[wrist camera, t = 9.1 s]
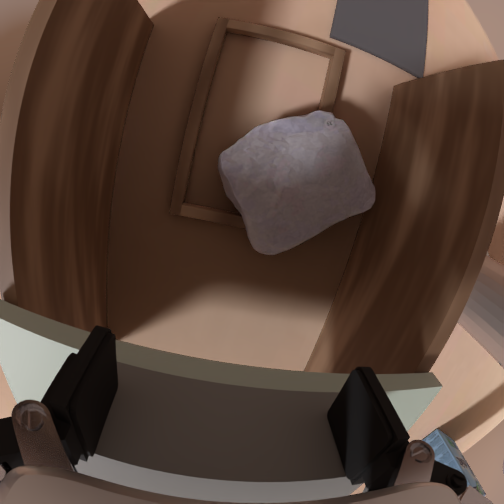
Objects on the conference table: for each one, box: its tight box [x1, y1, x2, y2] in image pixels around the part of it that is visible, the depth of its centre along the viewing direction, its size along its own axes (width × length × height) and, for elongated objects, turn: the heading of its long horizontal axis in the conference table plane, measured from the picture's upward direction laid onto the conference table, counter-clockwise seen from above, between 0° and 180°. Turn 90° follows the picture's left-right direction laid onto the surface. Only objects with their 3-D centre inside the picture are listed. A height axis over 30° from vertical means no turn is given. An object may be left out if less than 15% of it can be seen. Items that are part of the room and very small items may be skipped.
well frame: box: [0, 0, 504, 374], centre depth 20 cm, size 28×37×15 cm
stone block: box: [218, 110, 375, 255], centre depth 23 cm, size 12×5×10 cm
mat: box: [330, 0, 428, 78], centre depth 19 cm, size 11×16×1 cm
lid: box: [0, 299, 442, 503], centre depth 13 cm, size 28×15×6 cm, turn 77°
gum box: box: [422, 429, 486, 496], centre depth 37 cm, size 20×5×23 cm, turn 46°
